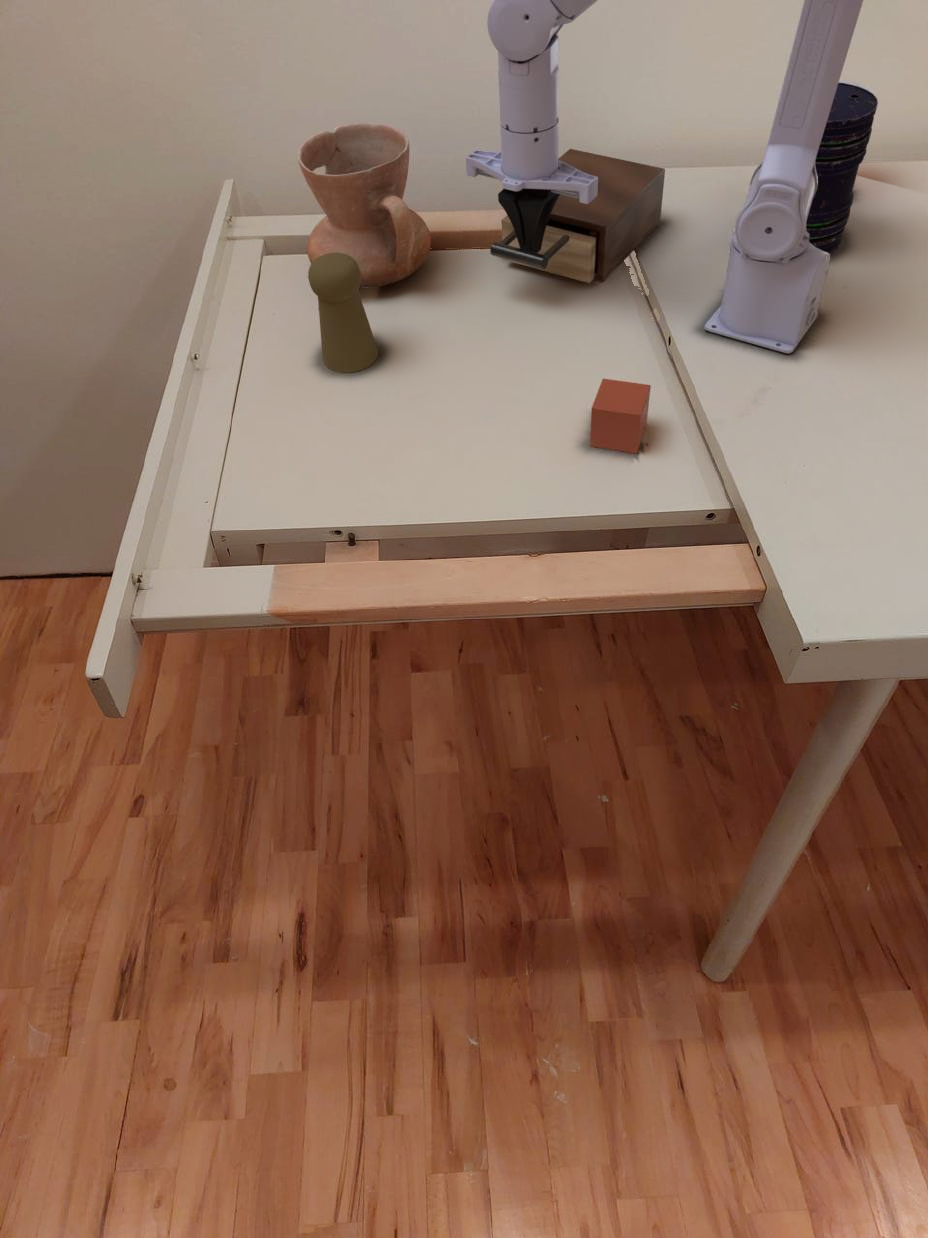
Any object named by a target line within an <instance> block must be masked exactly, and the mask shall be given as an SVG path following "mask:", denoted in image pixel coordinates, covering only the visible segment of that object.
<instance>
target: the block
mask: <svg viewBox="0 0 928 1238" xmlns="http://www.w3.org/2000/svg"><path fill="white" fill-rule="evenodd" d="M651 385H652V384H646V383H639V382H638V383H637V382H630V381H624V380H617V379H610V378H602V380H601V382H600V385H599V387H598V390H597V392H596V394H595V395H596V396H595V398H594V401H593V403H592V405H591V415H590V432H589V447H593V448H598V449H604V450H605V449H606V450H611V451H619V452H623V453H624V452H625V453H631V454H638V452H639V448H640V446H641V442H642V440H643V436H644V433H645V431H646V427H647V423H648V415H649V405H650V398H651V397H650V396H651Z"/></svg>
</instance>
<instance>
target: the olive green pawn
mask: <svg viewBox="0 0 928 1238" xmlns="http://www.w3.org/2000/svg"><path fill="white" fill-rule="evenodd" d="M307 273H308V275H307V279H308V283H309V285H310V288H311V291H312V292H313V293H314V294H315V295H316V296H317V302H318V316H319V329H320V331H319V332H320V344H321V355H322V362H323V365H324V366H325V367H326V368H327V369H329V370H330V371H333V372H335V373H341V374H351V373H356V372H361V371H362V370H365V369H367V368H369V367H370V366H372V365H373V364H374V363H375V362H376V361H377V359H378V358H379V350H378V346H377V343H376V340H375V337H374V333H373V331H372V328H371V325H370V321H369V318H368V316H367V313H366V310H365V309H366V308H365V306H364V303H363V301H362V297H361V294H360V292H359V289H360V288H359V287H360V283H361V272H360V269H359V266H358V264H357V262H356V261H355V260H354V259H353V258H352V257H351V256H349V255H347V254H343V253H329V254H325V255H322V256H320V257H318V258H317V259H315V260H314V261H313V262H312V264H311V263H310V266H309V269H308V271H307Z"/></svg>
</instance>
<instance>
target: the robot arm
mask: <svg viewBox="0 0 928 1238" xmlns="http://www.w3.org/2000/svg"><path fill="white" fill-rule="evenodd" d="M598 1H599V0H493V1H492V3H491V5H490V7H489V9H488V14H487V32H488V35H489V38H490V41H491V43H492V45H493V47H494V48H495V49H496V51H497V60H498V61H497V62H498V65H497V66H498V71H497V73H498V74H497V76H498V77H497V78H498V102H499V103H498V104H499V124H500V127H499V128H500V149H501V151H490V150H480V149H474V150H473V151H472V152H471V153H469V154H468V155H467V156H465V167H466V176H468V177H472V178H476V177H477V176H482V177H485V178H490V179H495V180H498V181H501V182H502V183H501V184H502V185H501V186H502V189H501V190H500V191H499V193H497V200H498V203H499V204H500V206H501V207H502V209H503V210H504V212H505V213H506V216H507V215H508V217H509V219H510V221H511V223H512V225H513V228H514V231H515V233H516V236H517V240H518V243H519V246H520V249H524V250H528V251H531V252H535V253H538V252H539V251H540V250H541V247H542V242H543V237H544V233H545V229H546V226H547V223H548V220H549V217H550V214H551V212H552V210H553V207H554V205H555V203H556V201H557V199H558V197H559V196H560V194H562V195H566V196H570V197H575V198H579V202H581V203H584V204H589V203H590V202H591V201H592V200H593V199H594V198H595V197H596V196H597V190H598V177H596V176H593V175H589V174H586V173H584V172H582V171H580V170H578V169H576V168H574V167H572V166H570V165H568V164H566V163H564V162H562V161H560V160H558V159H559V145H560V144H559V139H560V138H559V135H560V134H559V131H560V117H559V115H560V114H559V113H560V65H559V51H560V50H559V45H560V43H559V42H560V41H559V40H560V39H559V32H560V30H561V29H562V28H563V26H564V25H567V24H571V23H572V22H574V21H575V20H577V19H578V18H579V17H580V16H581V15H582V14H584V13H585V12H586V11H587V10H588V9H590V7H592V6H593V5H594V4H596V3H597V2H598ZM863 3H864V0H803V4H802V8H801V12H800V16H799V19H798V25H797V28H796V31H795V36H794V40H793V43H792V47H791V52H790V55H789V59H788V62H787V67H786V70H785V74H784V78H783V82H782V87H781V90H780V94H779V98H778V101H777V105H776V109H775V110H776V111H775V113H774V117H773V121H772V125H771V129H770V133H769V137H768V141H767V145H766V148H765V152H764V155H763V159H762V161H761V162H760V163H759V164H758V165H757V167H756V168H755V169H754V171H753V174H752V176H751V178H750V182H749V189H748V192H747V194H746V197H745V200H744V203H743V205H742V208H741V209H740V210H739V212H738V214H737V216H736V219H735V223H734V231H733V233H732V237H731V243H730V250H729V255H728V262H727V268H726V275H725V280H724V287H723V292H722V297H721V303H720V305H719V307H718V308H717V309H716V310H715V311H714V313H713V314H712V315H711V317H710V318H709V319H708V320H707V322H705V324H704V327H703V329H704V331H706V332H710V333H713V334H717V335H721V336H723V337H727V338H730V339H734V340H738V341H742V342H745V343H749V344H753V345H755V346H760V347H761V348H762V347H763V348H766V349H770V350H773V351H777V352H781V353H784V354H791V353H793V352H794V350H795V349H796V348H797V346H798V345H799V343H800V342H801V340H802V339H803V338H804V336H805V335H806V333H807V332H808V330H809V329H810V328H811V326H812V324H813V323H814V322H815V320H816V319H817V318H818V315H819V312H818V311H819V307H820V302H821V299H822V295H823V290H824V287H825V283H826V280H827V275H828V271H829V268H830V262H831V254H829V253H827V252H825V251H822V250H820V249H818V248H816V247H815V246H813V245H812V244H811V243H810V242H809V233H807V228H806V221H807V218H808V214H809V210H810V207H811V203H812V200H813V198H814V196H815V193H816V190H817V186H818V176H817V172H816V166H815V161H816V156H817V153H818V149H819V146H820V143H821V139H822V136H823V133H824V129H825V126H826V123H827V119H828V116H829V113H830V109H831V106H832V103H833V99H834V96H835V93H836V89H837V86H838V83H839V81H840V79H841V76H842V73H843V69H844V66H845V62H846V60H847V56H848V53H849V49H850V47H851V43H852V40H853V36H854V33H855V29H856V26H857V23H858V19H859V16H860V13H861V10H862V6H863Z"/></svg>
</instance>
